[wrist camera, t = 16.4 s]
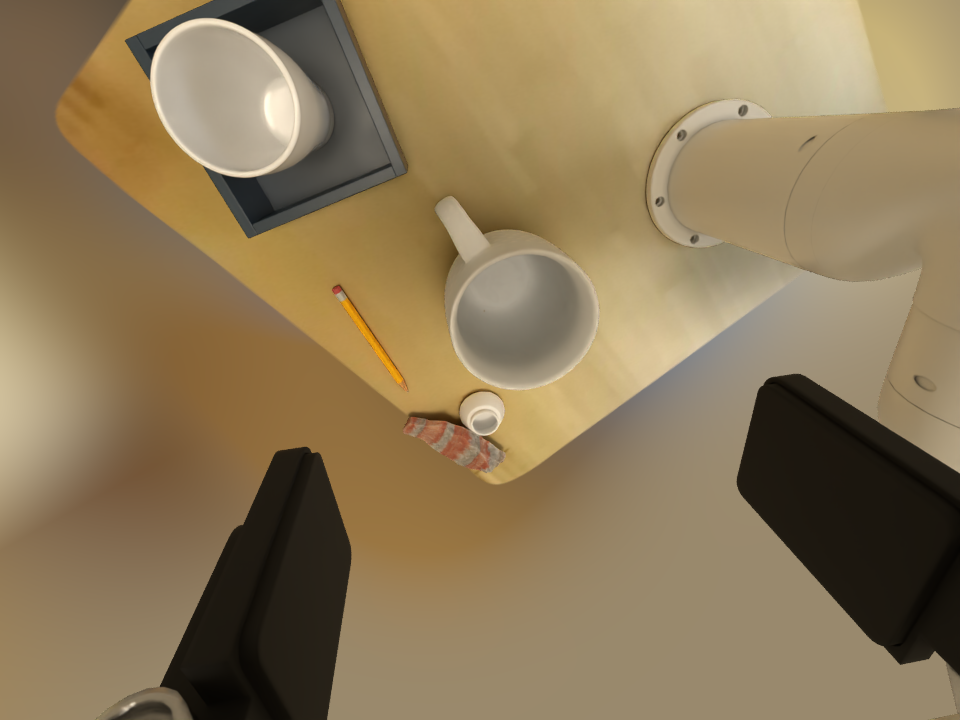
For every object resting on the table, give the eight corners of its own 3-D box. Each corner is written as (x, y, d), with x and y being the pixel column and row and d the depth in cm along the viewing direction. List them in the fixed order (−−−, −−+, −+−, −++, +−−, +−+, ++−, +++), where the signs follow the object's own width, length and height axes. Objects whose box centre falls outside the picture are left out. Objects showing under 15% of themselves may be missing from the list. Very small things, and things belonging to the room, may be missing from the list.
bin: (335, -13, 32) (316, -47, 26) (408, 166, 38) (406, 172, 32) (178, 57, 32) (123, 39, 26) (274, 222, 38) (248, 238, 32)
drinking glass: (290, 39, 32) (201, -27, 19) (363, 117, 35) (330, 108, 22) (234, 111, 34) (116, 97, 20) (308, 181, 36) (246, 208, 23)
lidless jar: (486, 381, 48) (450, 406, 49) (490, 395, 45) (452, 422, 46) (511, 410, 50) (476, 434, 51) (517, 425, 48) (480, 450, 48)
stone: (396, 436, 49) (416, 415, 46) (402, 418, 51) (423, 397, 47) (486, 484, 52) (512, 468, 49) (490, 466, 54) (514, 449, 51)
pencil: (339, 284, 41) (338, 286, 41) (411, 389, 48) (412, 393, 47) (331, 288, 41) (330, 290, 41) (405, 393, 48) (405, 396, 47)
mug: (388, 229, 40) (377, 268, 28) (488, 150, 38) (519, 158, 26) (483, 346, 46) (505, 416, 35) (571, 284, 44) (626, 337, 33)
